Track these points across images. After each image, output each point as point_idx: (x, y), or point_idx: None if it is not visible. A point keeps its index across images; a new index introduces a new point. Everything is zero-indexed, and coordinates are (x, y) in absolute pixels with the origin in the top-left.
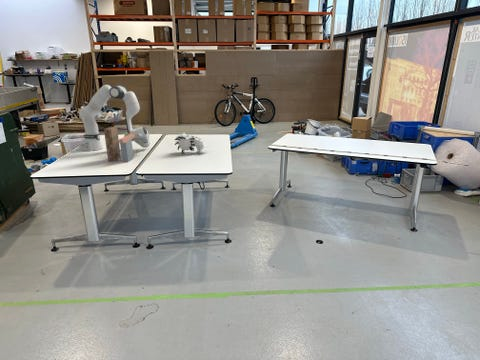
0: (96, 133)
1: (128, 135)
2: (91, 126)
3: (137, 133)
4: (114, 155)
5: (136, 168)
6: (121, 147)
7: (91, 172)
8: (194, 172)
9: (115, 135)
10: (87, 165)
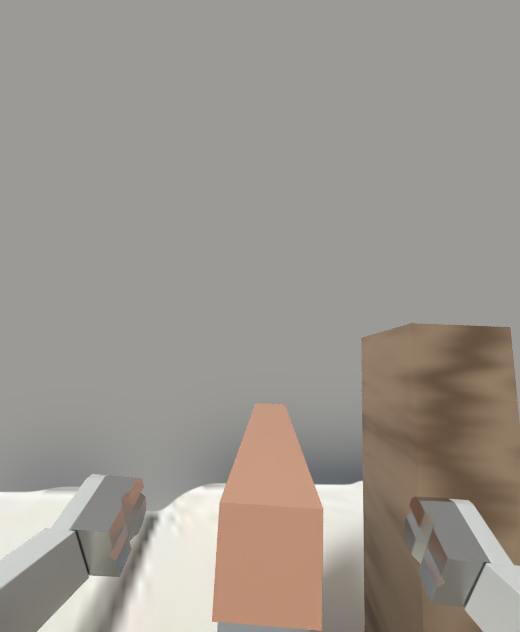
0: None
1: (282, 441)
2: None
3: (138, 480)
4: (364, 584)
5: (148, 528)
6: None
7: (333, 497)
8: None
9: (385, 410)
10: None
